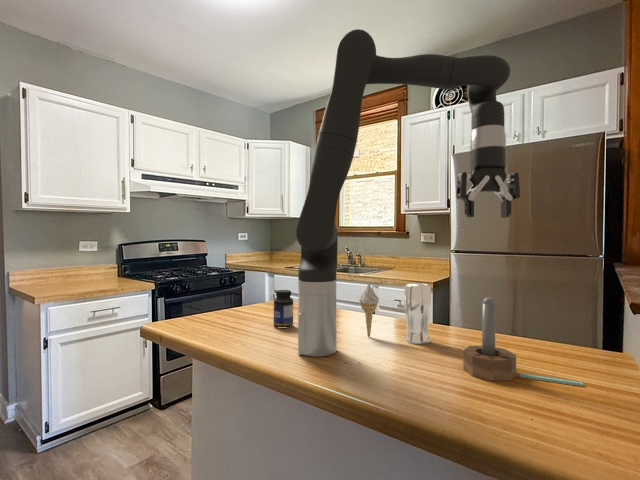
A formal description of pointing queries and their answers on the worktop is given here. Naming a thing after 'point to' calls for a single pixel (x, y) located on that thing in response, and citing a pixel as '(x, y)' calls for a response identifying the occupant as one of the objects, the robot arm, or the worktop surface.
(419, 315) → the beer glass
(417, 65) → the robot arm
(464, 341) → the worktop surface
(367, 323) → the ice cream cone
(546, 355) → the worktop surface
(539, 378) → the teal thin bar
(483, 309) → the grey rounded rod
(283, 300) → the pill bottle
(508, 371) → the bead
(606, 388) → the worktop surface
